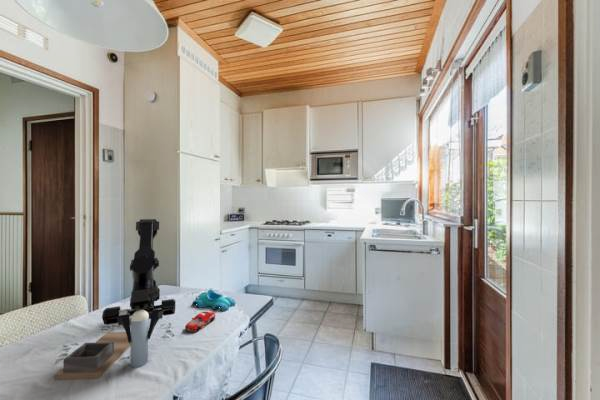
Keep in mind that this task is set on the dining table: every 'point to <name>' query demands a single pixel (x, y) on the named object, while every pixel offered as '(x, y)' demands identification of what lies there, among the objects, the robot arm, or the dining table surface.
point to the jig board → (94, 357)
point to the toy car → (214, 301)
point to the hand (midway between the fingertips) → (139, 340)
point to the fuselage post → (139, 338)
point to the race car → (200, 321)
